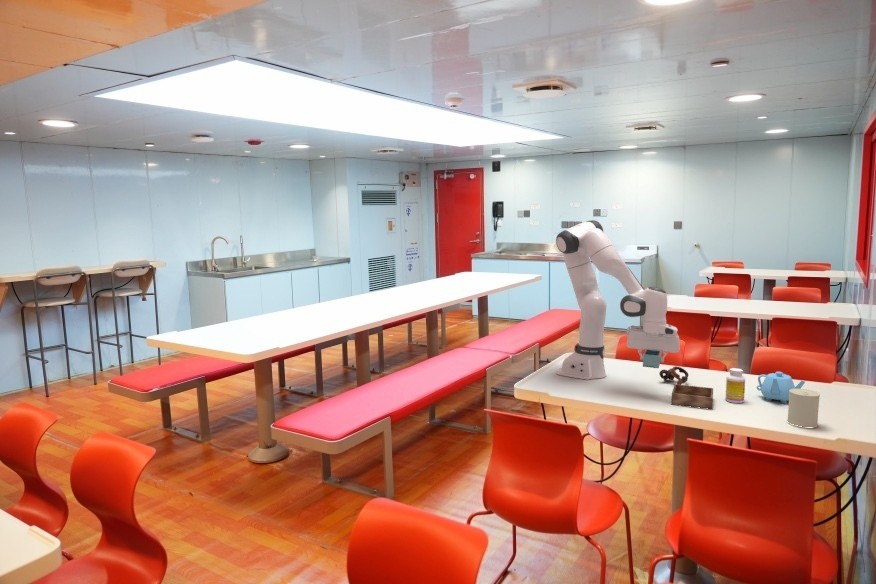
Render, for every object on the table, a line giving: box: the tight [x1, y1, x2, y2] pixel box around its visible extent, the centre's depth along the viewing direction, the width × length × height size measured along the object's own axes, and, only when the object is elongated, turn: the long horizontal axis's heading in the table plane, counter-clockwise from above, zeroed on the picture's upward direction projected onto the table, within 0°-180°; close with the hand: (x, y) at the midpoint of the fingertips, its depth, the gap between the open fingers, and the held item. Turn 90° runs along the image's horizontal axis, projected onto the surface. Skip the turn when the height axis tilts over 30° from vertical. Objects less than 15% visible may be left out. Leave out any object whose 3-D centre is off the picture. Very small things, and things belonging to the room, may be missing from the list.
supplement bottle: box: [725, 367, 746, 404], centre depth 228 cm, size 7×7×13 cm
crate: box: [670, 383, 714, 410], centre depth 228 cm, size 14×14×4 cm
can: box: [786, 388, 821, 428], centre depth 202 cm, size 9×9×12 cm
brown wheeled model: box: [658, 366, 689, 385], centre depth 255 cm, size 12×10×8 cm
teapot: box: [756, 371, 806, 404], centre depth 229 cm, size 15×14×11 cm
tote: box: [642, 350, 662, 369], centre depth 234 cm, size 10×6×5 cm, turn 155°
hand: (651, 360), depth 234 cm, fingers closed on tote, 6 cm apart
